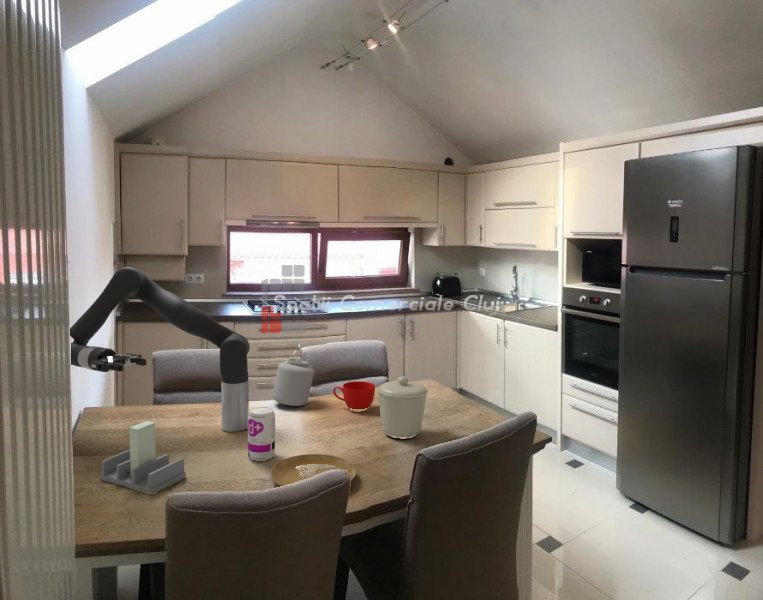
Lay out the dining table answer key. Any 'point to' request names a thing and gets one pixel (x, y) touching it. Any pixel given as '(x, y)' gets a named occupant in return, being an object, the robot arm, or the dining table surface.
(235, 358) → the robot arm
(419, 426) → the canister
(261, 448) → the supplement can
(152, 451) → the green slab
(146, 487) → the dish rack
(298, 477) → the plant saucer
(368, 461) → the dining table surface
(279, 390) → the jar
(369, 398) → the ceramic cup
